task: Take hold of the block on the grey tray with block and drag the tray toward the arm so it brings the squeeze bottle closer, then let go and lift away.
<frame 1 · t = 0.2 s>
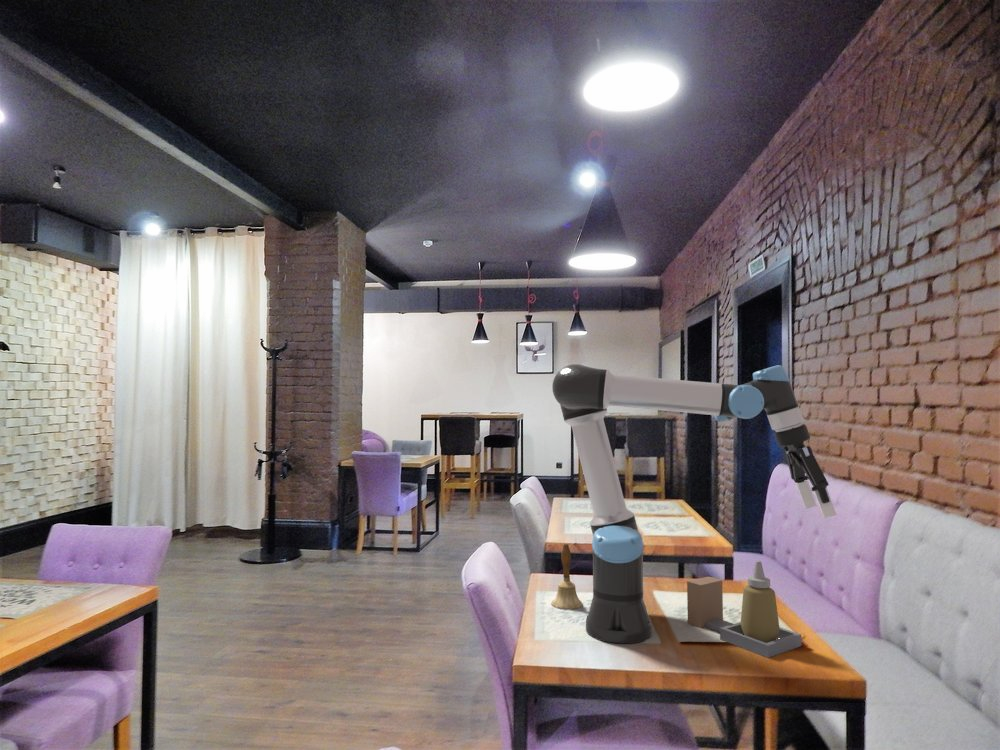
hand: (820, 511, 146), 27 cm above the table, tool tilted 20°, fingers open, 13 cm apart
hand bell: (566, 605, 162), on the table
grey tray with block: (738, 612, 140), point 5 cm above the table, slide at 0.0 cm
squeeze bottle: (760, 644, 135), resting in grey tray with block
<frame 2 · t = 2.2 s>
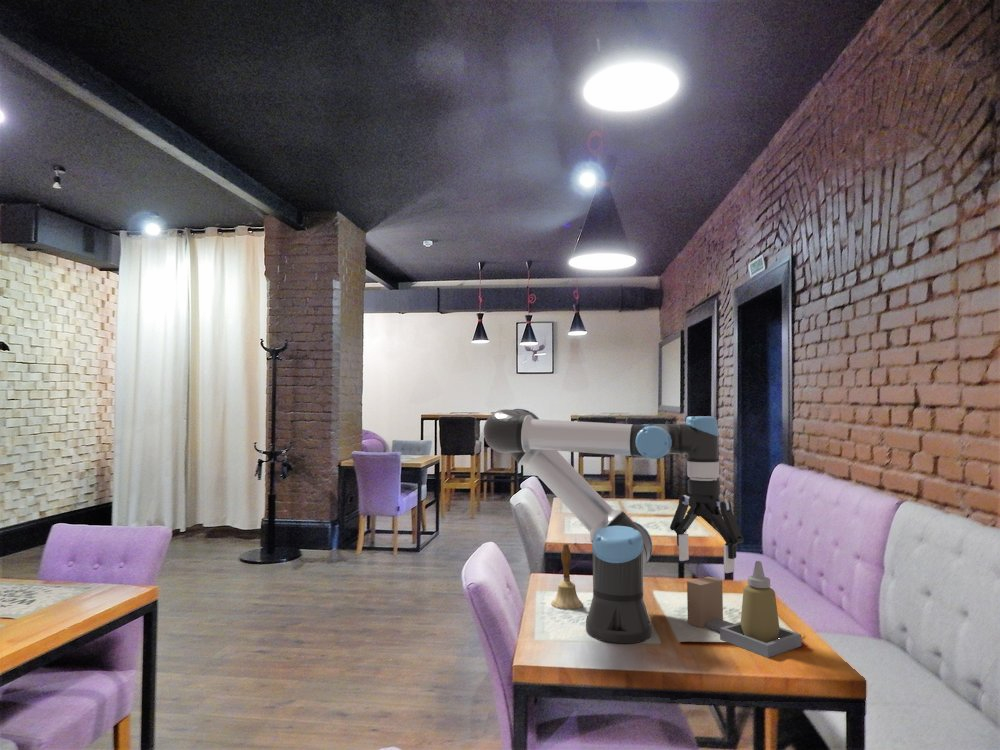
hand: (705, 566, 148), 14 cm above the table, tool pointing down, fingers open, 13 cm apart
nothing on the table moved.
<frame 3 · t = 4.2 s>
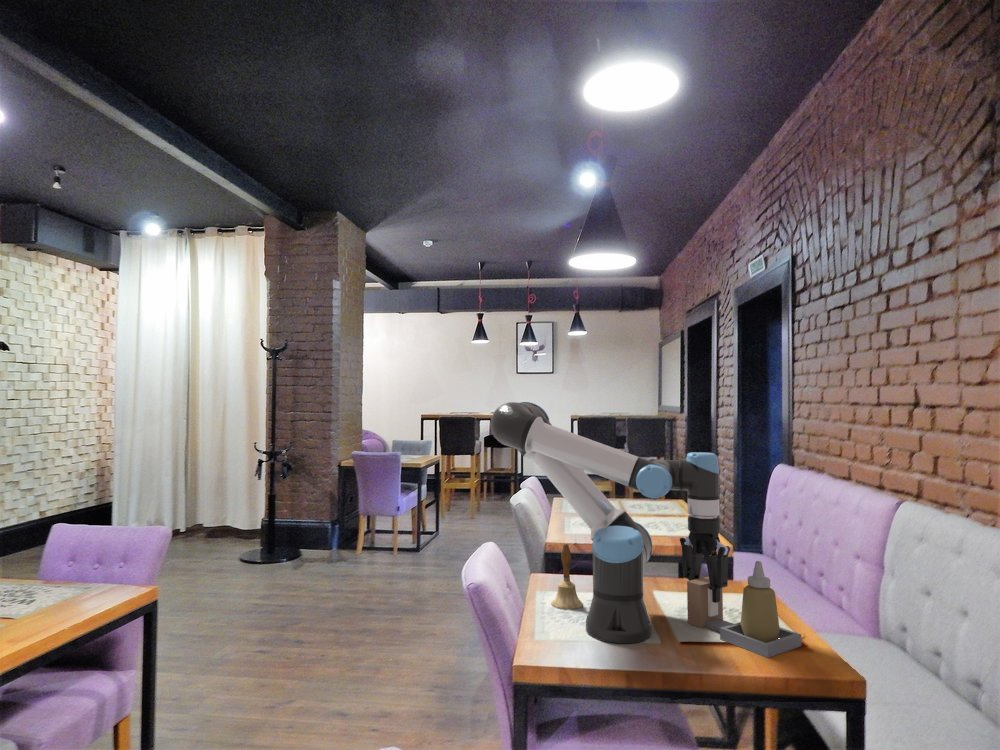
hand: (705, 612, 148), 3 cm above the table, tool pointing down, fingers closed on grey tray with block, 4 cm apart
grey tray with block: (738, 612, 140), point 5 cm above the table, slide at 0.0 cm, touching gripper
everything else where it was.
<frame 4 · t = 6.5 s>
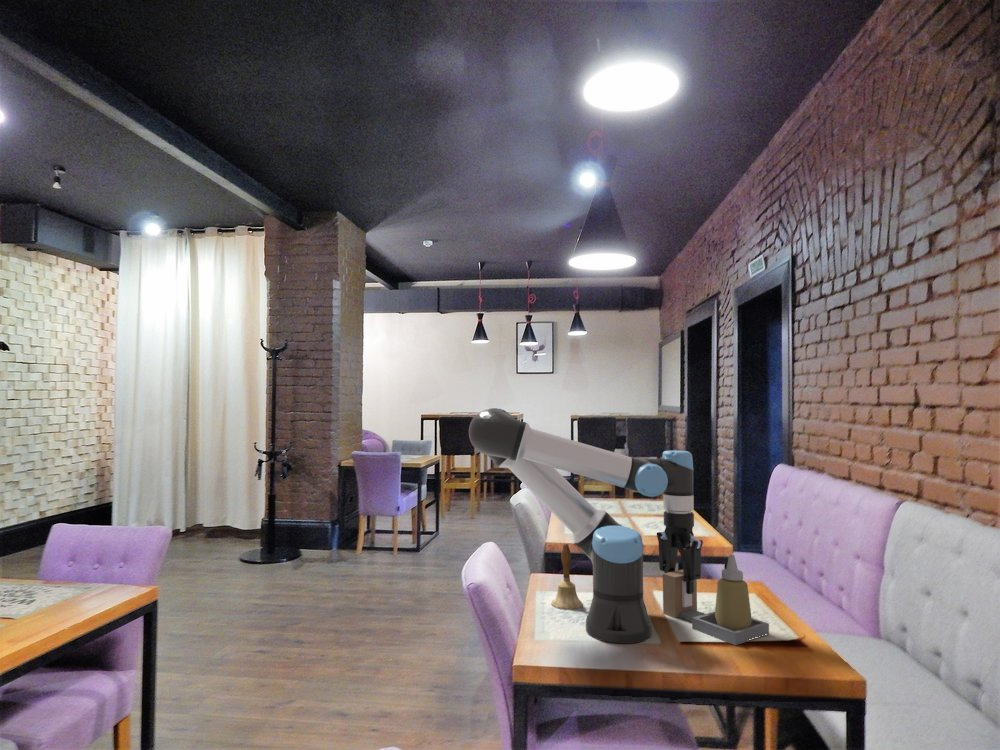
hand: (680, 603, 155), 3 cm above the table, tool pointing down, fingers closed on grey tray with block, 4 cm apart
grey tray with block: (710, 603, 147), point 5 cm above the table, slide at 7.9 cm, touching gripper, squeeze bottle
squeeze bottle: (733, 634, 141), resting in grey tray with block
everything else where it was.
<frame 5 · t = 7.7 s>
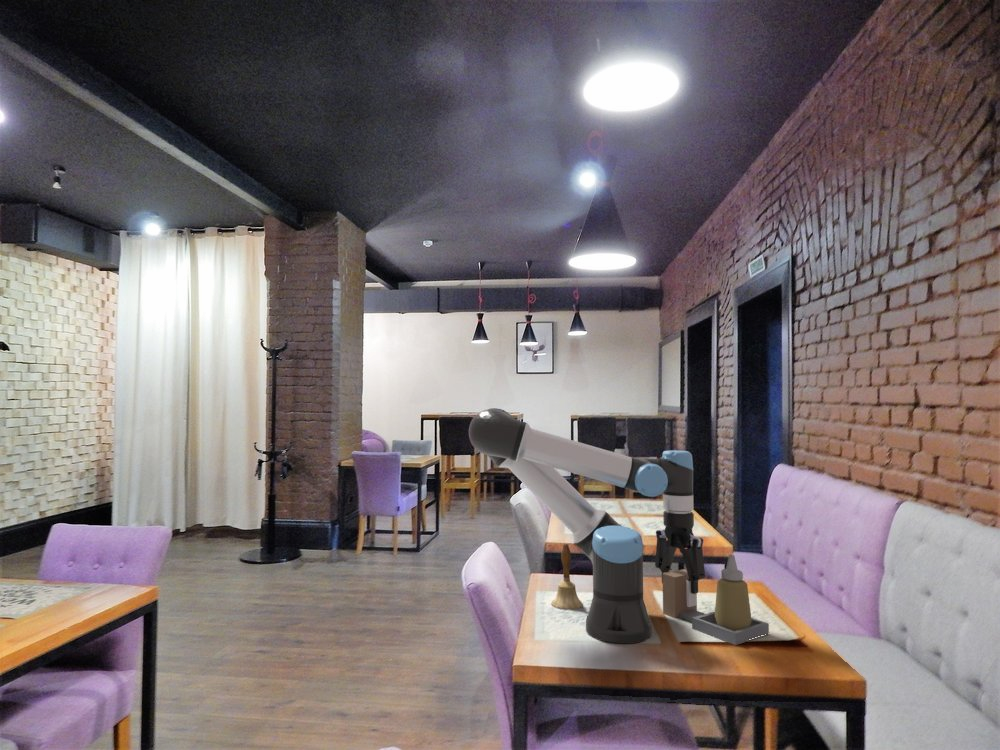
hand: (679, 601, 155), 3 cm above the table, tool pointing down, fingers open, 7 cm apart
grey tray with block: (710, 603, 147), point 5 cm above the table, slide at 8.0 cm
squeeze bottle: (733, 634, 141), resting in grey tray with block
everything else where it was.
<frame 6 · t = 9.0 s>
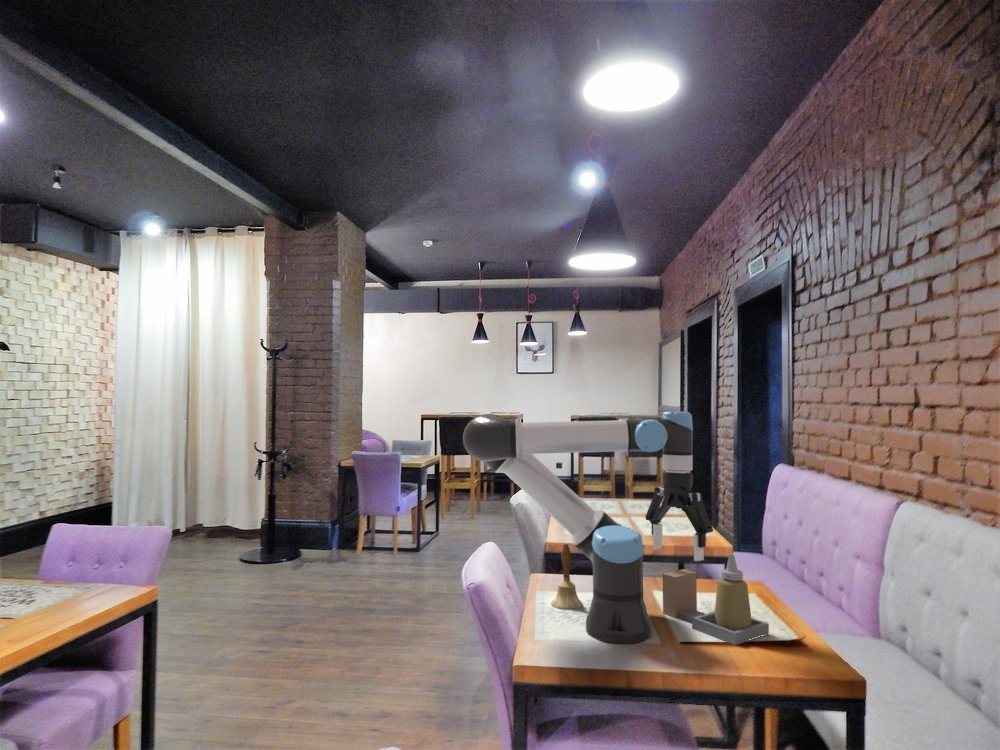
hand: (677, 554, 155), 15 cm above the table, tool pointing down, fingers open, 13 cm apart
nothing on the table moved.
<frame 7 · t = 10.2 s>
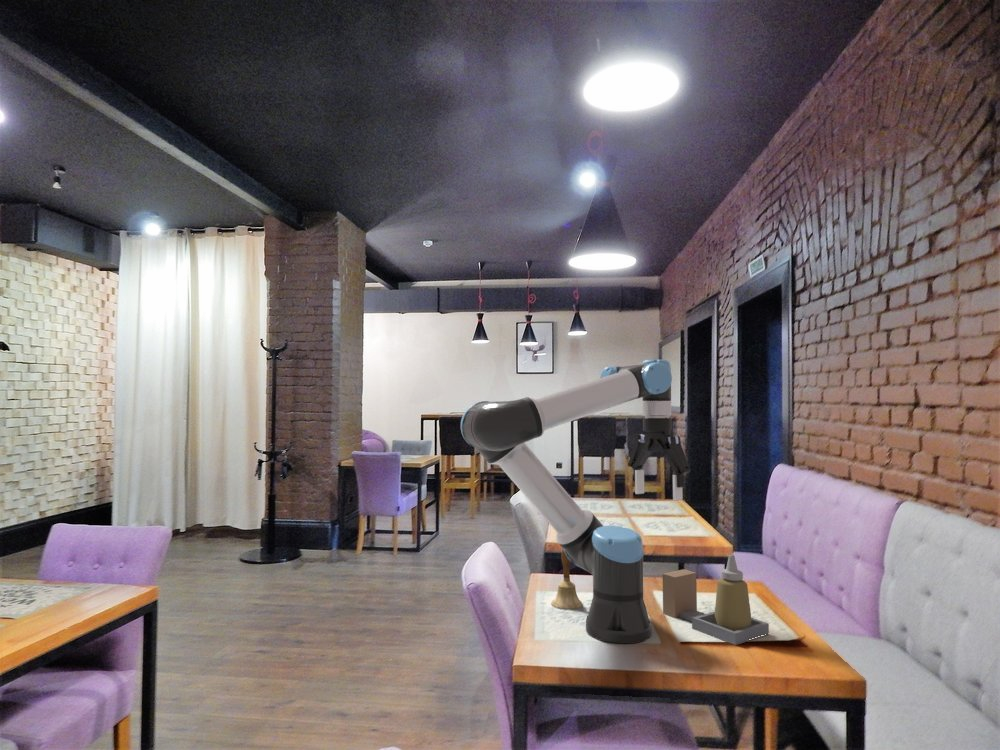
hand: (658, 496, 162), 29 cm above the table, tool pointing down, fingers open, 13 cm apart
nothing on the table moved.
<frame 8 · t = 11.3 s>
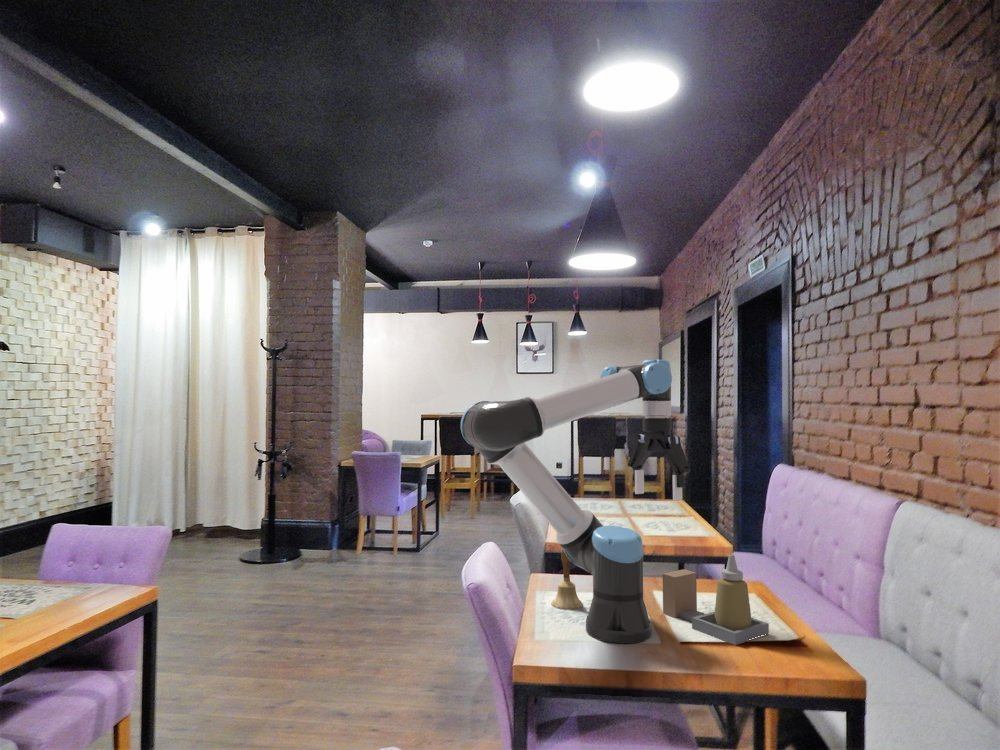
hand: (657, 496, 162), 29 cm above the table, tool pointing down, fingers open, 13 cm apart
nothing on the table moved.
at the end: grey tray with block slide at 8.0 cm; squeeze bottle inside the target area (4.1 cm from its centre), resting in grey tray with block; squeeze bottle tilted 0° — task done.
